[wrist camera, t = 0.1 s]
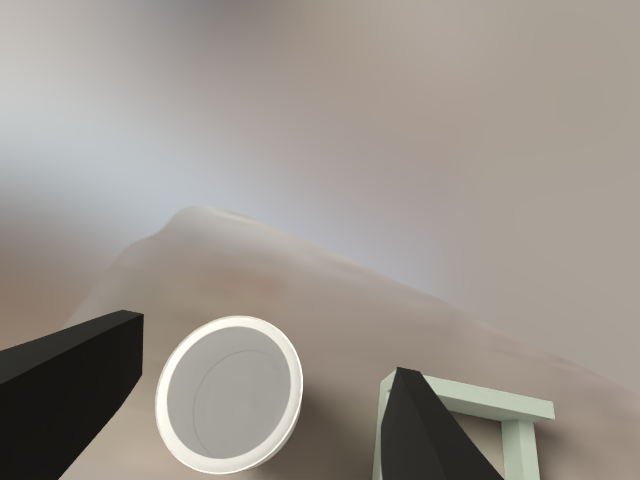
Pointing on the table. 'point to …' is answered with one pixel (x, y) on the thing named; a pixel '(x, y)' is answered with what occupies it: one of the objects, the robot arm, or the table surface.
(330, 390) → the table surface
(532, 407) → the lane
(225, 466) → the jar
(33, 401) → the robot arm
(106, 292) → the table surface
